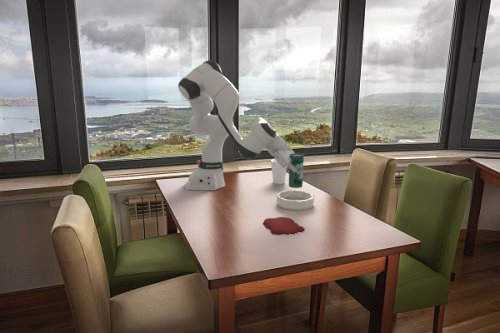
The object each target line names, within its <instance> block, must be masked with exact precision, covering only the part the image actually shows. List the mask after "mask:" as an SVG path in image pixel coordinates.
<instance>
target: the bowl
mask: <svg viewBox="0 0 500 333" xmlns="http://www.w3.org/2000/svg"><path fill="white" fill-rule="evenodd" d="M275 201H276V204H277V205H276V206H278V207H279V208H281V209H283V210H287V211H295V212H297V211H307V210H310V209H312V208H313V207H314V203H315V195H314V194H313V193H312V192H308V191H305V190H297V189H289V190H282V191H279V192H278V193H276V200H275Z"/></svg>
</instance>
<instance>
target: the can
mask: <svg viewBox="0 0 500 333" xmlns="http://www.w3.org/2000/svg"><path fill="white" fill-rule="evenodd" d="M304 156H305V154H303V153H294V154H290V158H291V159H292V161H291V163H292V165H293V166H294V167H296V168H297V171H296V172H293V171H292V170H291V169H289V168H288V169H289V170H288V187H289V188H292V189H299V188H301V189H302V187H303V180H304Z"/></svg>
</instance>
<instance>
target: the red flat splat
mask: <svg viewBox="0 0 500 333" xmlns="http://www.w3.org/2000/svg"><path fill="white" fill-rule="evenodd" d="M262 225H263V226H264V227H265V229H267V230H270V233H271V234H272V235H275V234H276V235H275V236H280V235H281V234H282V235H284V234H286V236H290V235H289V234H293V235H296V234H298V232H301V233H304V232H305V231H304V230H305V227H303V226H301V225H299V224H298V223H297V222H295V220H294V219H292V218H290V217H287V216H279V217H278V216H277V217H274V218H273V217H268V218H265V219H264V220H263V222H262ZM303 231H304V232H303ZM295 233H296V234H295Z"/></svg>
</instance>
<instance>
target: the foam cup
mask: <svg viewBox="0 0 500 333" xmlns="http://www.w3.org/2000/svg"><path fill="white" fill-rule="evenodd" d="M270 165H271V175H272V182H273V184H275V185H283V184H284V183H285V181H286V175H287V169H288V167H287V166H286V167H285V168H283V167H282V166H281V165H280V164H279V163H278V162H277V161H276V159H275V158H273V159H271V160H270Z"/></svg>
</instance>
